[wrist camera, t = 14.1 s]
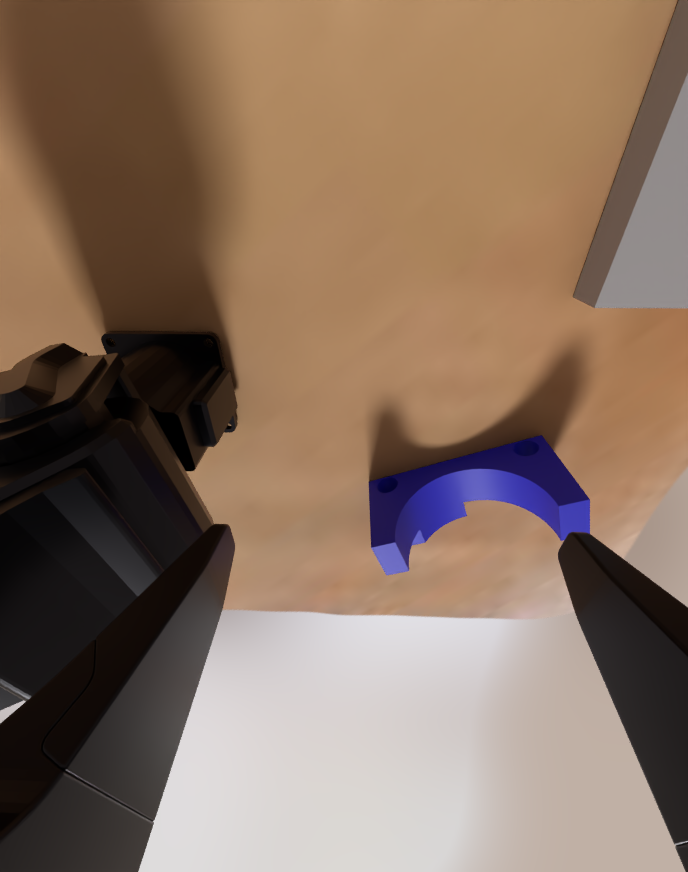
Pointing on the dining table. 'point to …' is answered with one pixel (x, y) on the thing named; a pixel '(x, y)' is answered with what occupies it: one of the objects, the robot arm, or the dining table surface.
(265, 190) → the dining table surface
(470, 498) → the blue arched block
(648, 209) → the hitch block
